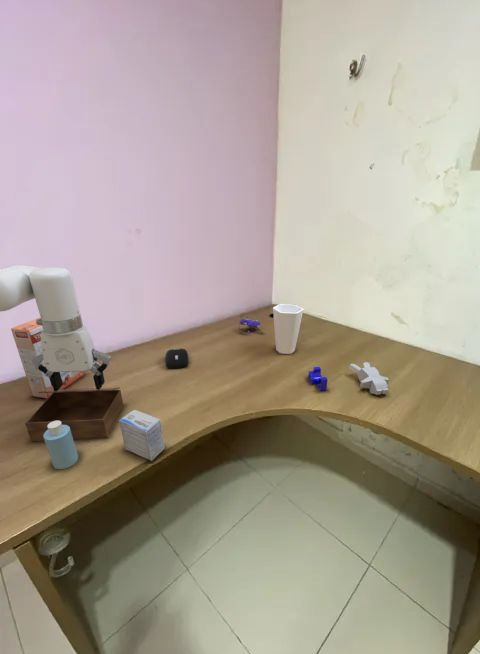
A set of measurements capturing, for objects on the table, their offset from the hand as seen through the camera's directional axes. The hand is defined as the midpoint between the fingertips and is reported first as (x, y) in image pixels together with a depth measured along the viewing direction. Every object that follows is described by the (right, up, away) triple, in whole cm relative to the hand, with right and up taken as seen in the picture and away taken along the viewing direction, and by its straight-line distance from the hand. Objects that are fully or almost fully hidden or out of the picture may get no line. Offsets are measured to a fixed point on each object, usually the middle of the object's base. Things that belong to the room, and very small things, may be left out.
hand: (79, 387), depth 78 cm
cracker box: (-15, -2, +15) cm, 21 cm away
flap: (0, -1, +1) cm, 1 cm away
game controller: (+40, +16, +59) cm, 73 cm away
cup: (+54, +8, +43) cm, 70 cm away
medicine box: (+19, -13, -7) cm, 25 cm away
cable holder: (+63, -2, +22) cm, 66 cm away
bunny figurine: (+80, -2, +23) cm, 83 cm away
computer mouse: (+15, +5, +32) cm, 36 cm away
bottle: (+4, -14, -11) cm, 18 cm away
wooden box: (0, -9, +1) cm, 9 cm away
